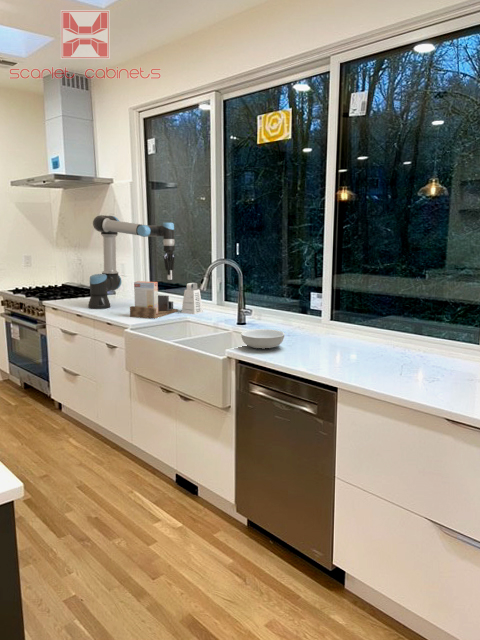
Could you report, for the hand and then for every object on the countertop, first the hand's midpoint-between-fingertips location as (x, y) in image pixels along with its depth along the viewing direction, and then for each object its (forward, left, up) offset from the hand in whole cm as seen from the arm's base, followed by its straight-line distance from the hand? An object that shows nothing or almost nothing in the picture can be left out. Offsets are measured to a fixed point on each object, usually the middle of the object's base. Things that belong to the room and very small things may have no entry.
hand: (169, 279), depth 330 cm
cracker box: (0, -30, -20) cm, 36 cm away
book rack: (0, -20, -21) cm, 29 cm away
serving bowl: (+94, -79, -22) cm, 125 cm away
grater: (+20, -5, -21) cm, 30 cm away
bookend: (0, -11, -19) cm, 22 cm away
